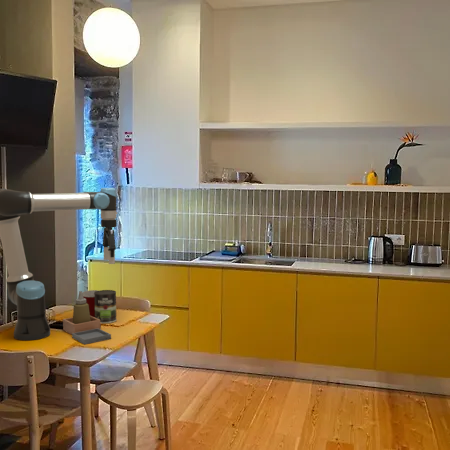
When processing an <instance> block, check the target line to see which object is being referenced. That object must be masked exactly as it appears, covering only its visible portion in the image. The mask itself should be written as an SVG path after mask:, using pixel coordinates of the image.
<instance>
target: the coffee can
mask: <svg viewBox="0 0 450 450" xmlns="http://www.w3.org/2000/svg"><path fill="white" fill-rule="evenodd" d="M94 295H95V318H97V319H99V320H100V322H101V325H102V324H103V325H104V324H112V323H114V322H117V291H116V290H113V289H103V290H98V291H96V292H94Z"/></svg>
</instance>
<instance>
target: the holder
mask: <svg viewBox="0 0 450 450" xmlns="http://www.w3.org/2000/svg"><path fill="white" fill-rule="evenodd" d="M90 319H91V321H90V322H85V323H80V324H73V317H69V318H63V319H62V327H63V329H62V330H63V331H64V332H66V333H68V334H70V335H72V333H76V332H82V331H87V330H92V329H97V328H99V329H101V330H102V328H101V325H102V323H101V322H100V320H99V319H97V318H95V317H92V316H90Z"/></svg>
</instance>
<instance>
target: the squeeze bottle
mask: <svg viewBox="0 0 450 450" xmlns="http://www.w3.org/2000/svg"><path fill="white" fill-rule="evenodd" d="M82 292H83V291H82V290H80V291H79V292H78V296H77V298H76V299H75V304H73V309H72V310H73V311H72V318H73V324H80V323H85V322H90V321H91V319H90V312H89V305H88V304H87V303H86V299H85V298H84V297H83V293H82Z"/></svg>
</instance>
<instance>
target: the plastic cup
mask: <svg viewBox="0 0 450 450" xmlns="http://www.w3.org/2000/svg"><path fill="white" fill-rule="evenodd" d="M96 291H99V289H98V290H97V289H96V290H95V289H94V290H93V289H91V290H85V291H82V293H83V297H84V298H85V299H86V303H87V304H88V305H89V312H90V316H92V317H95V295H94V292H96Z"/></svg>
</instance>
